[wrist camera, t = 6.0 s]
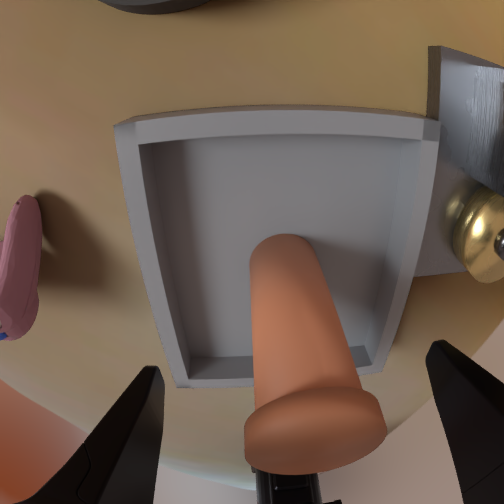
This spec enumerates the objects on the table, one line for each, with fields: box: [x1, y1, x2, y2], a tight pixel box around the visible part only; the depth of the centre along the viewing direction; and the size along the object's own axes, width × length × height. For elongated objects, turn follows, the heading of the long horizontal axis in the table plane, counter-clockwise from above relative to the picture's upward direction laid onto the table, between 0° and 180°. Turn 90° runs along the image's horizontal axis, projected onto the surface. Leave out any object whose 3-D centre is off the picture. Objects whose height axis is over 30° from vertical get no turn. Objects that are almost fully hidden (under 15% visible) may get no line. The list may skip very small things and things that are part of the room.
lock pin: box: [244, 234, 387, 475], centre depth 11 cm, size 4×4×9 cm
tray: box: [114, 105, 441, 388], centre depth 14 cm, size 14×12×2 cm
